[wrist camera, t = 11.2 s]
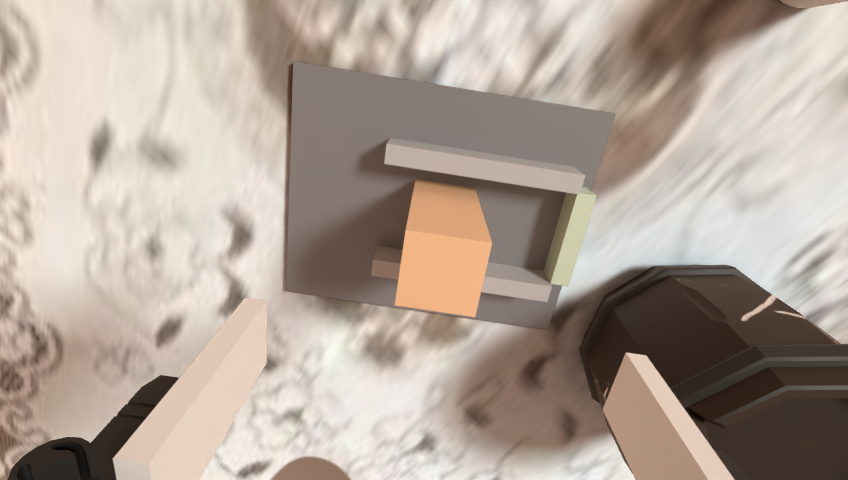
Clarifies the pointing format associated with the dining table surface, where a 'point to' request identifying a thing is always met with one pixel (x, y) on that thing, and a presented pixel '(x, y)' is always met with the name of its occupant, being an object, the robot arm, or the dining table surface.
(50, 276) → the dining table surface
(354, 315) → the dining table surface
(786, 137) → the dining table surface
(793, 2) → the beverage can
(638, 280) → the wooden barrel
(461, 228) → the block
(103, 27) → the dining table surface
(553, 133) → the end holder
